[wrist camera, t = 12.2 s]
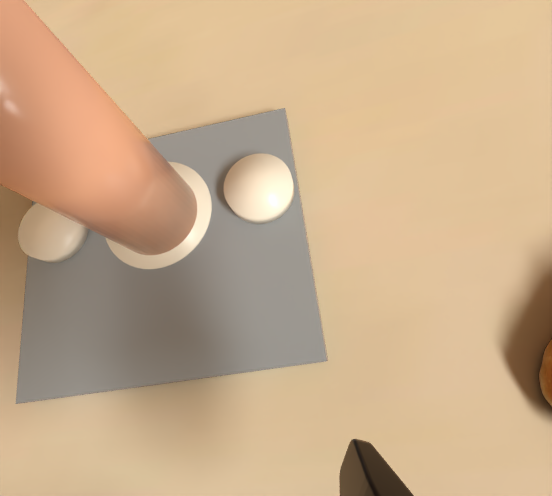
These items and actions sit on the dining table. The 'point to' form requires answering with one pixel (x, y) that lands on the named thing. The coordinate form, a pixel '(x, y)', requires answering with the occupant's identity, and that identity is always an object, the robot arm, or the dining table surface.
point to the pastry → (546, 373)
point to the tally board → (178, 278)
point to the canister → (81, 144)
